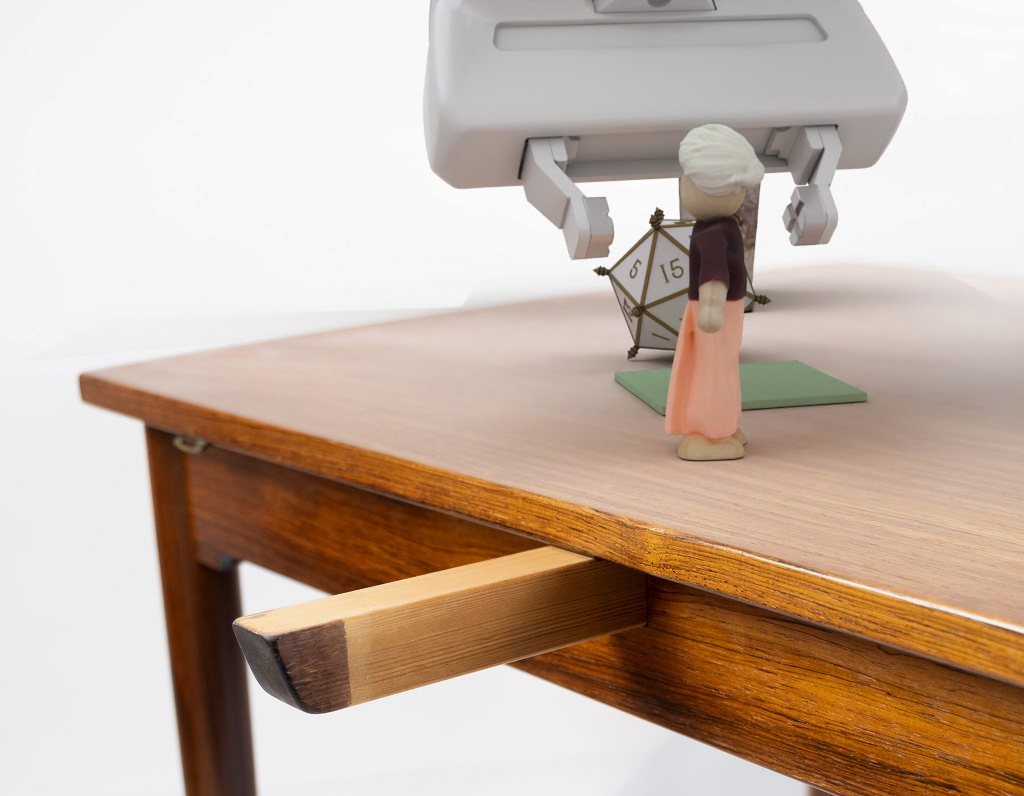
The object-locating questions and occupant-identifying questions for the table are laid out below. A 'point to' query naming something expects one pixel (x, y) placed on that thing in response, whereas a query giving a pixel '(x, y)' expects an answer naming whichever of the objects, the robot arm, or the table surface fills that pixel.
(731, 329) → the grandmother figurine
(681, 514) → the table surface
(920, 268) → the table surface
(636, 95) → the robot arm
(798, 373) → the mat
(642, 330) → the game die
